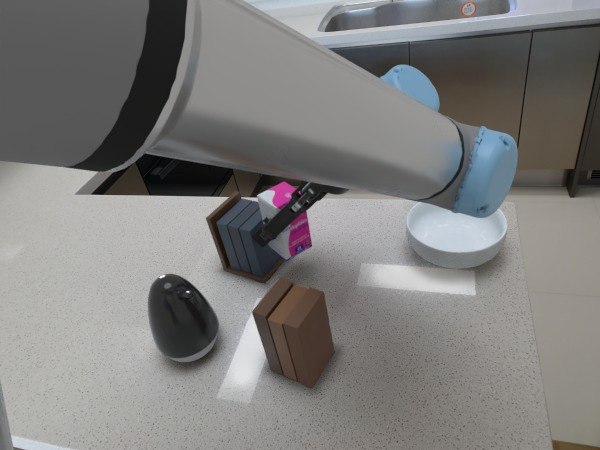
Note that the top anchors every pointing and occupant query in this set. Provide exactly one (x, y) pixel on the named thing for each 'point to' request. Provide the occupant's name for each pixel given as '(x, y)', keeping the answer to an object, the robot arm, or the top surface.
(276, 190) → the supplement box
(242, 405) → the top surface
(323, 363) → the brown books
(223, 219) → the slate books
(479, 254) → the cereal bowl
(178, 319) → the dark grey egg shape
